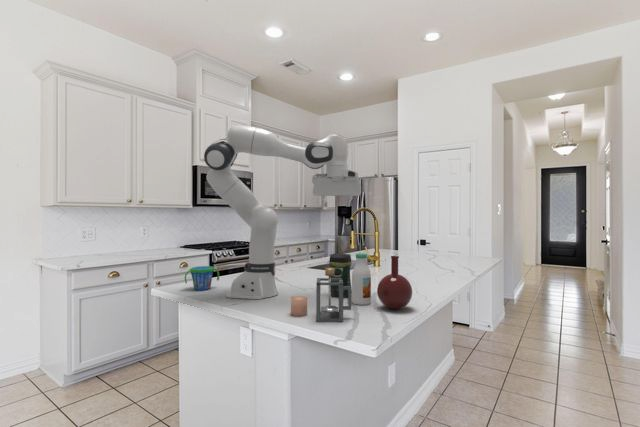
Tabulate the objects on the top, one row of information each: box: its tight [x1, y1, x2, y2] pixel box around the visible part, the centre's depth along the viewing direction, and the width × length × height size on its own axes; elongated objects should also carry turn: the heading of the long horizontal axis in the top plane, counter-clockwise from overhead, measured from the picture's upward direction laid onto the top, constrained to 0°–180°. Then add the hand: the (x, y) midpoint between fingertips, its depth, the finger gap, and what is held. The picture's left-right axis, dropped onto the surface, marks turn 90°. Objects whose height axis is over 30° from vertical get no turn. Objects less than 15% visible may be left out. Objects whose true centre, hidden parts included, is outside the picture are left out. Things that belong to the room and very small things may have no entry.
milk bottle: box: [351, 252, 372, 306], centre depth 146 cm, size 8×8×20 cm
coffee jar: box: [328, 252, 352, 298], centre depth 159 cm, size 10×8×19 cm
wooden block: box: [290, 295, 308, 318], centre depth 130 cm, size 6×6×6 cm
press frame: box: [315, 277, 352, 323], centre depth 125 cm, size 12×9×13 cm
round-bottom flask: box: [376, 255, 413, 310], centre depth 138 cm, size 13×13×20 cm
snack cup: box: [184, 265, 220, 291], centre depth 170 cm, size 16×10×10 cm
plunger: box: [320, 267, 339, 313], centre depth 125 cm, size 6×6×15 cm
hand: (336, 206), depth 151 cm, fingers open, 8 cm apart
